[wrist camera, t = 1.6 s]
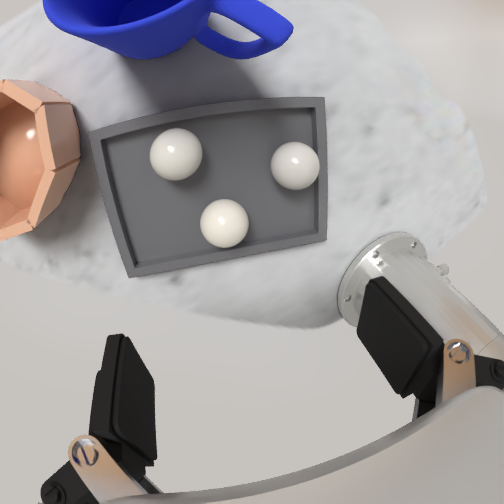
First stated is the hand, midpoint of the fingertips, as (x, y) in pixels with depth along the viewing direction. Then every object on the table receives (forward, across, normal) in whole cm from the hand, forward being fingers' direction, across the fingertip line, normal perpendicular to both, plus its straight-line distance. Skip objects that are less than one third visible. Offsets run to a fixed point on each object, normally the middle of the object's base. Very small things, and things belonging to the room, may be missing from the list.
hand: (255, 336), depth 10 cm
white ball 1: (+13, +2, -5) cm, 14 cm away
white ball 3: (+13, -6, -3) cm, 15 cm away
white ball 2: (+13, 0, 0) cm, 13 cm away
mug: (+14, +1, -14) cm, 20 cm away
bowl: (+14, +15, -9) cm, 22 cm away
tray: (+13, 0, -2) cm, 13 cm away
